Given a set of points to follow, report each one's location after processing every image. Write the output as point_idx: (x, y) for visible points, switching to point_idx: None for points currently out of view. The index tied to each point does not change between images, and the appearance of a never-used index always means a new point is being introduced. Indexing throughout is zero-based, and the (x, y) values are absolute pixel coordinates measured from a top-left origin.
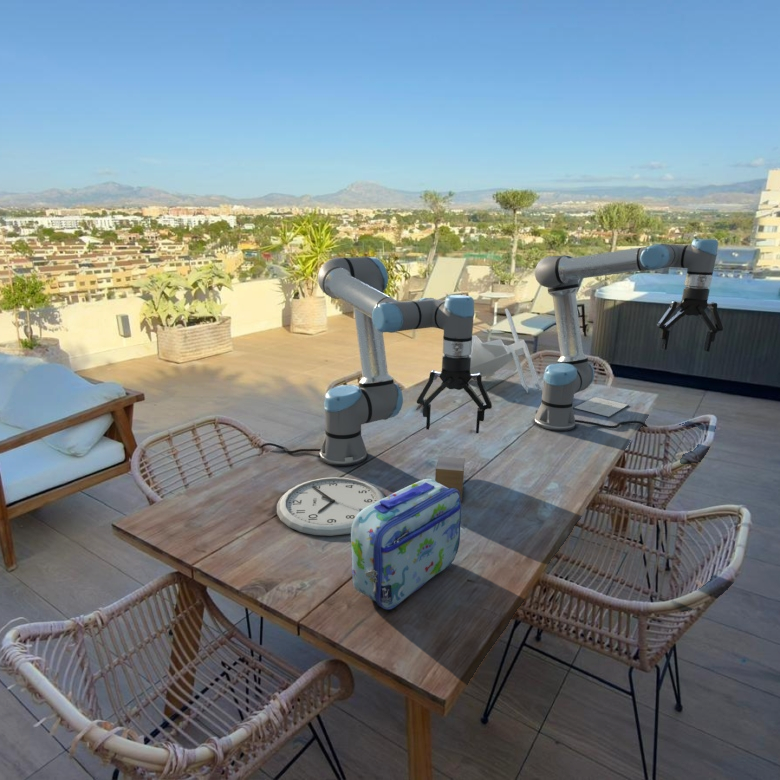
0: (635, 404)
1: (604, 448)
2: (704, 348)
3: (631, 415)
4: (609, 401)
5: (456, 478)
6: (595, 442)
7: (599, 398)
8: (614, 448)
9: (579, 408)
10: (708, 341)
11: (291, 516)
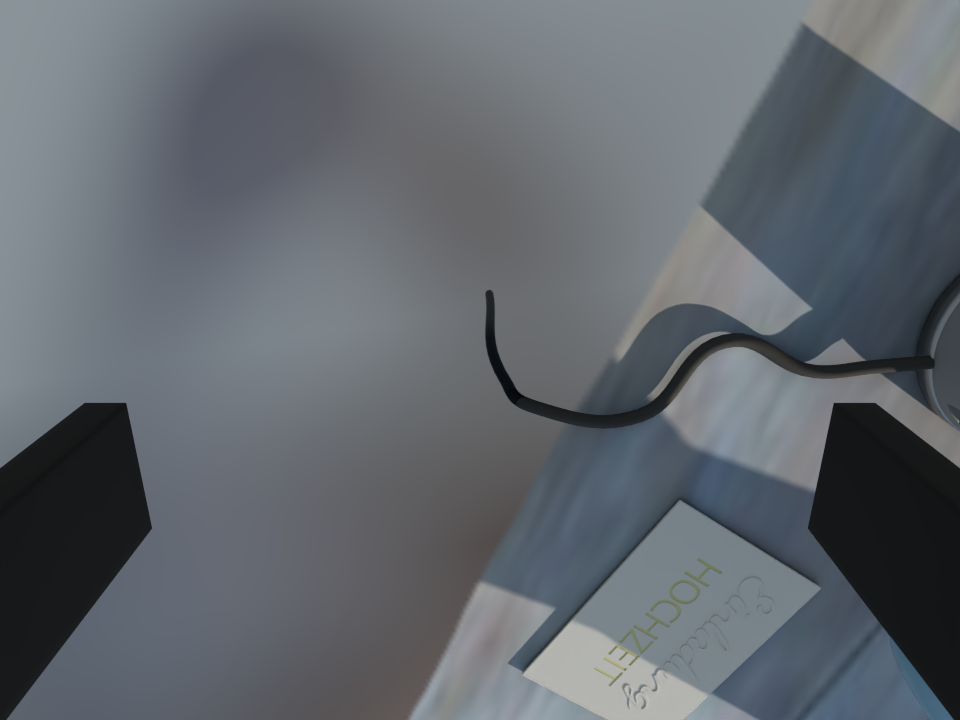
0: (479, 691)
1: (884, 12)
2: (134, 527)
3: (549, 545)
4: (602, 699)
5: None
6: (899, 101)
7: None
8: (824, 25)
9: (796, 581)
10: (7, 529)
11: None
